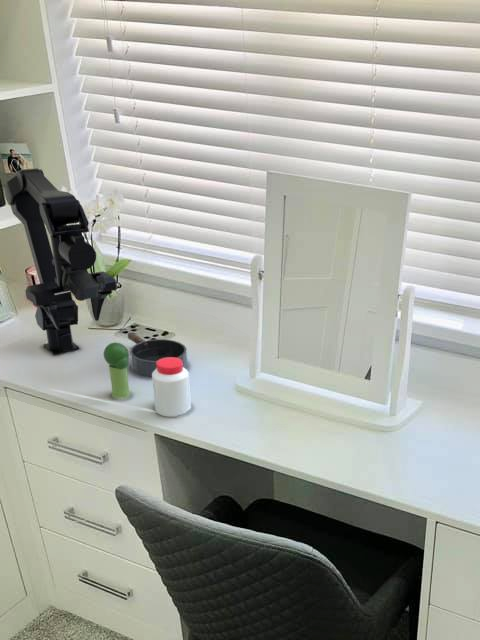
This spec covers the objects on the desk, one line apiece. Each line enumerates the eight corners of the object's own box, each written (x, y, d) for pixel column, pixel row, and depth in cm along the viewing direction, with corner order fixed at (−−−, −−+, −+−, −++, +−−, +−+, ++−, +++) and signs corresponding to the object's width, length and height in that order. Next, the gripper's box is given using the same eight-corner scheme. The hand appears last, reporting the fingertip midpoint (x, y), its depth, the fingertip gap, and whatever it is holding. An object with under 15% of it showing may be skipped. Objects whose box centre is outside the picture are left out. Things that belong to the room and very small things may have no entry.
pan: (121, 364, 188) (119, 347, 185) (168, 351, 195) (167, 335, 193) (150, 384, 180) (148, 366, 178) (198, 370, 188) (197, 352, 185)
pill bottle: (147, 411, 169) (143, 365, 163) (168, 397, 175) (164, 352, 169) (178, 420, 167) (174, 373, 161) (198, 405, 173) (195, 359, 167)
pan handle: (126, 339, 194) (125, 332, 193) (133, 337, 195) (132, 330, 194) (143, 349, 189) (142, 343, 188) (149, 348, 190) (148, 341, 189)
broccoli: (103, 394, 175) (96, 342, 168) (123, 387, 178) (117, 336, 171) (119, 404, 171) (112, 351, 164) (139, 397, 175) (133, 344, 168)
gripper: (42, 274, 157) (54, 346, 166) (126, 258, 169) (133, 327, 177) (18, 259, 164) (31, 329, 173) (100, 245, 175) (108, 311, 184)
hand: (77, 324), depth 176 cm, fingers open, 9 cm apart
